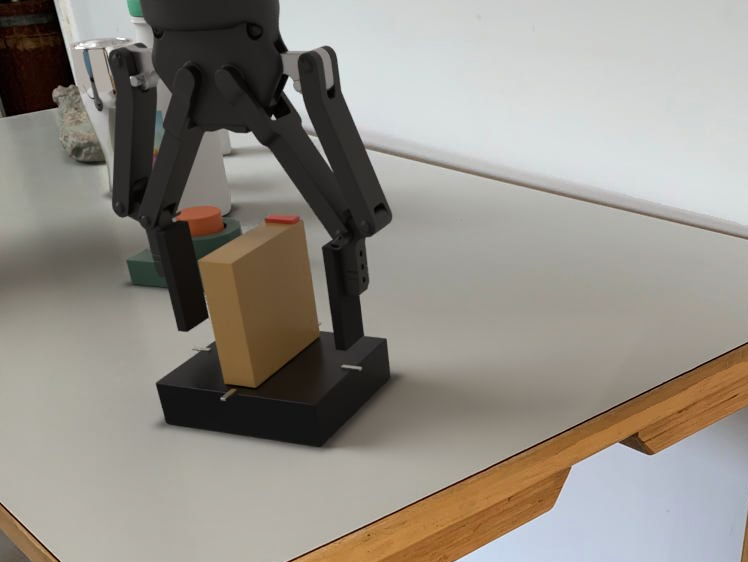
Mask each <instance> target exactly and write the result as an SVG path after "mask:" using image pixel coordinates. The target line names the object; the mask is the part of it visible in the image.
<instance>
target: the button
mask: <svg viewBox="0 0 748 562" xmlns="http://www.w3.org/2000/svg"><path fill="white" fill-rule="evenodd" d="M180 211H181V214H180V215H178V216H177V217H176V221H178V220H182V221H188V223H189V228H190V232H191V236H202V235H209V234H213V233H217V232H220V231H222V230H223V229H224V225H223V220H222V217H223V216H222V215H221V210H220V209H219V208H217V207H213V206H196V207H190V208H186V209H183V210H180ZM180 211H178V212H180ZM178 212H177V213H178Z"/></svg>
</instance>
